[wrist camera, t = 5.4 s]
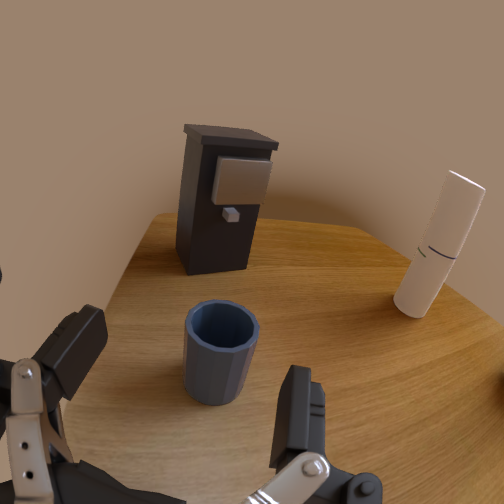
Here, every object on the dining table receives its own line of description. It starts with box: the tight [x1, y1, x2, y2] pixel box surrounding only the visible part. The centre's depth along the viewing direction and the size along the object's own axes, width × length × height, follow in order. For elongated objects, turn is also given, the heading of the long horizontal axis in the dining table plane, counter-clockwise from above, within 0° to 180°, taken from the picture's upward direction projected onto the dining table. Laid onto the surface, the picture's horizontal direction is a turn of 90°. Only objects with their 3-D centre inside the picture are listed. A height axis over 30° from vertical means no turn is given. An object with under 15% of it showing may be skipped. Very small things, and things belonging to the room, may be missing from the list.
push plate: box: [211, 156, 273, 205], centre depth 38 cm, size 2×7×6 cm, turn 116°
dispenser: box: [175, 124, 279, 275], centre depth 44 cm, size 11×11×21 cm
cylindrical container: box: [393, 170, 486, 318], centre depth 43 cm, size 7×7×25 cm
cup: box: [182, 299, 260, 406], centre depth 28 cm, size 6×6×9 cm
